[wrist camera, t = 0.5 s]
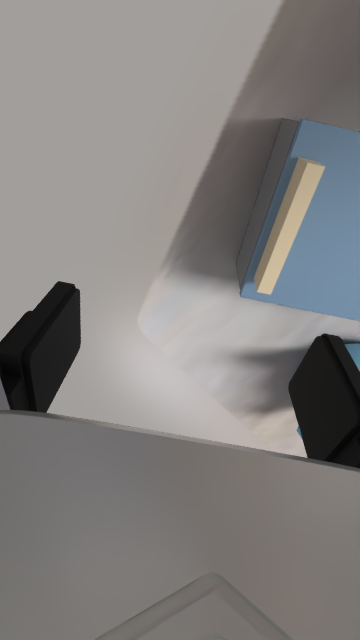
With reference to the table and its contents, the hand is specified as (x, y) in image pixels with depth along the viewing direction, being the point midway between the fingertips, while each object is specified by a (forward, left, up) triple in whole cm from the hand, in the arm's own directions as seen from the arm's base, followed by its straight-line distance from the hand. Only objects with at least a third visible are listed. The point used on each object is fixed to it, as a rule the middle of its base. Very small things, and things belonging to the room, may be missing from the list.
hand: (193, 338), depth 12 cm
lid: (-14, -1, -17) cm, 22 cm away
